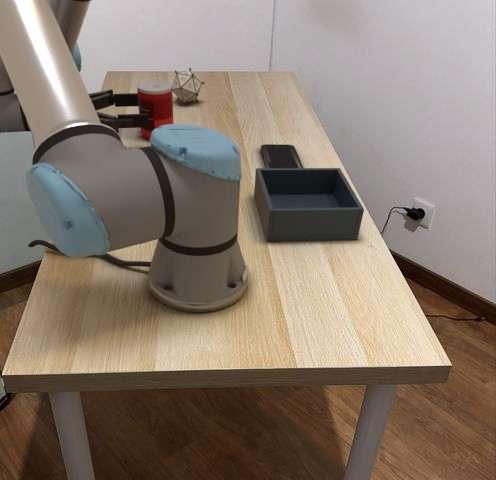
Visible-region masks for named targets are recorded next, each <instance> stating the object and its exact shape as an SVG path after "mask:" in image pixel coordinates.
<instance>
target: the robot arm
mask: <svg viewBox="0 0 496 480" xmlns="http://www.w3.org/2000/svg"><path fill="white" fill-rule="evenodd" d="M92 1H93V0H0V134H3V133H4V134H5V133H21V132H23V133H24V132H31V134H32V137H33V138H34V141H35V143H36V146H35V148H34V149H33V152H32V155H31V165H32V166H29V167H28V168H27V170H26V172H25V182H26V187H27V190H28V191H27V192H28V193H29V197H30V200H31V203H32V204H33V206H34V208H35V213H36V215H37V217H38V219H39V222H40V224H41V226H42V228H43V229H44V231H45V233H46V235H47V236H48V238H49V239H50V241H51V242H48V241H46V240H43V239H33V240H31V242H29V243H28V245H27V247H28V248H34V247H36V246H43V247H45V248H48V249H50V250H51V251H55V252H57V253H61V254H64V255H65V256H67V257H69V258H71V259H82V258H85V257H90V256H91V257H92V256H96V257H97V256H98V257H101V258H103V259H106V260H108V261H110V262H112V263H114V264H116V265H119V266H123V267H141V268H142V267H143V268H145V267H146V268H149V269H148V286H149V290H150V292H151V294H152V295H153V297H154V298H155V299H157V300H158V301H159V302H160V303H161V304H163V305H165V306H168V307H169V308H172V309H174V310H178V311H182V312H190V313H208V312H215V311H218V310H222V309H225V308H227V307H230V306H232V305H233V304H235V303H236V302H238V301H239V300H240V299H241V298H242V297H243V296H244V295H245V293H246V291H247V288H248V278H249V277H248V275H249V267H248V264H246V262H245V259H244V257H243V253H242V250H241V246H240V244H239V239H238V235H239V216H240V213H239V212H240V197H241V196H240V195H241V180H242V179H243V174H242V159H241V158H242V157H241V150H240V148H239V146H238V144H237V143H236V142H235V141H234V139H232V138H231V137H230V136H228V135H226V134H225V133H223V132H221V131H218V130H215V129H213V128H209V127H205V126H201V125H195V124H188V123H173V124H167V125H162V126H159V127H158V128H156V129H154V130H153V131H152V133H151V137H150V139H149V140H148V141H149V143H150V145H147V146H143V147H142V146H141V147H135V148H130V149H129V148H128V149H126V147H125V146H124V143H123V140H122V139H121V136H120V134H119V133H120V129H141V128H147V127H149V121H148V114H139V113H121V114H117V115H116V116H115V115H113V114H112V115H111V114H107V113H103V112H100V111H101V110H103V109H106V108H109V107H112V106H114V107H115V108H124V107H125V108H129V107H139V105H138V92H131V93H130V92H129V93H127V92H126V93H114V89H106V90H102V91H97V92H92V93H91V92H90V93H89V92H88V90H87V87H86V86H85V85H86V84H85V83H84V81H83V79H82V76H81V73H80V72H81V70H82V55H81V51H80V47H79V44H78V42H77V41H78V39H79V36H80V34H81V30H82V27H83V25H84V22H85V19H86V15H87V12H88V9H89V7H90V4H91V2H92ZM152 241H157V242H156V245H155V248H154V251H153V254H152V258H151V261H143V260H142V261H141V260H123V259H120V258H117V257H115V256H113V255H111V254H110V252H114V251H118V250H122V249H125V248H129V247H130V248H131V247H133V246H138V245H141V244H145V243H149V242H152Z"/></svg>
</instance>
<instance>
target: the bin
mask: <svg viewBox="0 0 496 480" xmlns="http://www.w3.org/2000/svg"><path fill="white" fill-rule="evenodd" d="M254 174H255V175H254V176H255V177H254V189H253V190H254V191H253V192H254V193H253V199H254V202H255V206H256V209H257V212H258V216H259V219H260V223H261V227H262V229H263V234H264V236H265V240H266V242H268V243H269V242H306V241H307V242H309V241H310V242H311V241H350V240H351V241H353V240H355V241H356V240H359V235H360V230H361V226H362V222H363V217H364V213H365V208H364V206H363V204H362V203H361V201H360V200H359V198H358V196H357V195H356V193H355V191H354V190H353V188H352V186H351V184H350V183H349V180H348V179H347V178H346V176H345V174H344V172H343V170H342V169H341V168H340V167H303V168H266V167H264V168H263V167H261V168H260V167H256V168H255V173H254Z"/></svg>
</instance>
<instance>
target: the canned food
mask: <svg viewBox="0 0 496 480" xmlns="http://www.w3.org/2000/svg"><path fill="white" fill-rule="evenodd" d="M172 86H173V84H171V83H170V82H167V81H164V80H156V79H152V80H144V81H141V82H139V83H138V84H137V87H136V93H138V105H139V106H138V114H148V121H149V127H147V128H140V134H141V136H142V138H143V139H145V140H147V141H150V140H149V139H150V137H151V133H152V131H153V130H154V129H156V128H158V127H159V126H162V125H167V124H174V104H173V103H174V102H173V91H172Z"/></svg>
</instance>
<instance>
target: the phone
mask: <svg viewBox="0 0 496 480" xmlns="http://www.w3.org/2000/svg"><path fill="white" fill-rule="evenodd" d="M260 154H261V157H262V161H263V163H264V166H265V167H264V168H304V166H303V164H302V162H301V161H302V160H301V159H300V156H299V154H298V152H297V150H296V147H295V146H294V145H293V144H273V143H272V144H271V143H270V144H266V143H264V144H261V145H260Z"/></svg>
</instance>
